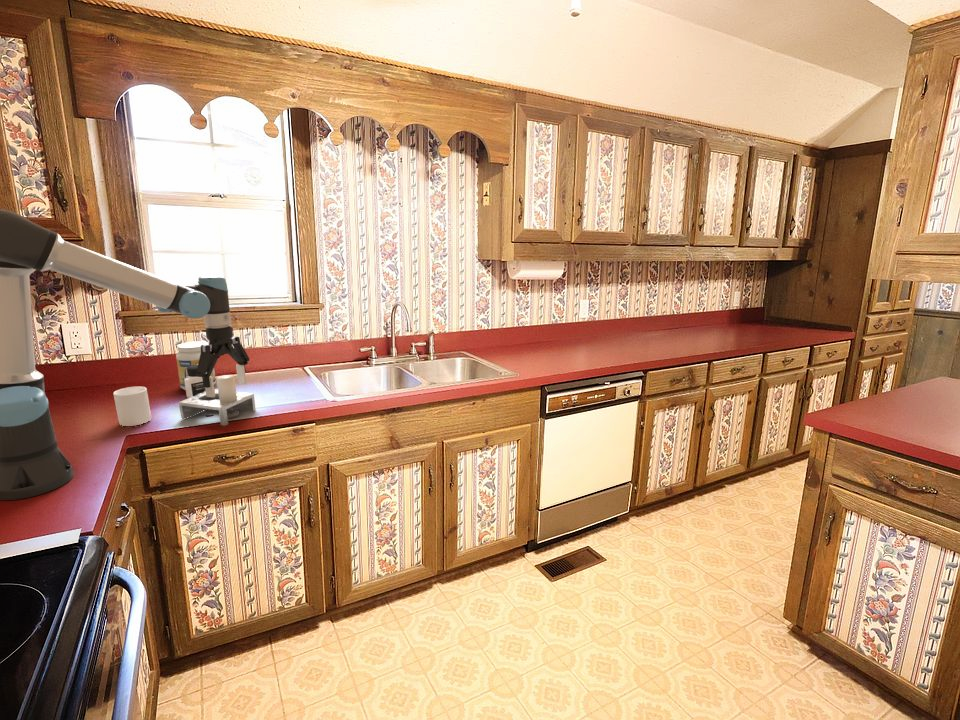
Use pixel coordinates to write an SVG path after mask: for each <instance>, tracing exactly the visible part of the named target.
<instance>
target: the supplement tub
mask: <svg viewBox="0 0 960 720" xmlns="http://www.w3.org/2000/svg"><path fill="white" fill-rule="evenodd" d="M201 345H209V342H207V341H188V342H183V343H180V344H177V349H176V350H177V353H176V355H175V358H176V359H175V360H176V364H177V373H178V379H179V384H180V385H179V386H180V389H183V391H186V388H185V382H184V379H185V378H188V374H187V367H189V366H191V365H196V364H198V363H199V358H200V354H201ZM210 377H213V383H214V386H216V384H217V379H216V378H217V377H216V373H215V367H214V368H213V371H212V373H211V375H210Z"/></svg>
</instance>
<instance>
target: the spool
mask: <svg viewBox="0 0 960 720" xmlns="http://www.w3.org/2000/svg"><path fill="white" fill-rule="evenodd" d="M215 378H216V387H217V389H218V394H219V401H221V402H230V401H234V400H236V399H237V393H236V392H237V385H236V379H235V375H233V374H224V375H223V374H222V375H219V376H216V377H215ZM226 410H227V418H228V419H233V418H236V417H239V415H240V413H239V409H233V406H232V407H230V408H228V409H226Z"/></svg>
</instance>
